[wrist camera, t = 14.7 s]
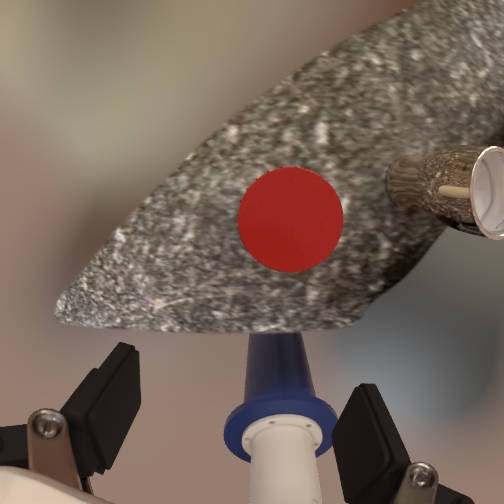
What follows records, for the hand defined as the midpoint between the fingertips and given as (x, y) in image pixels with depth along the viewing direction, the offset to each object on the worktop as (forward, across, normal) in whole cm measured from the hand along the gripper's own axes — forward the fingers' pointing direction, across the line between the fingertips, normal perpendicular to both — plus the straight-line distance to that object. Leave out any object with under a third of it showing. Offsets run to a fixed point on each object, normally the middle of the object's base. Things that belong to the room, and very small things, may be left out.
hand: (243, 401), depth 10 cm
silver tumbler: (+22, -15, -11) cm, 29 cm away
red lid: (+11, -2, -5) cm, 12 cm away
